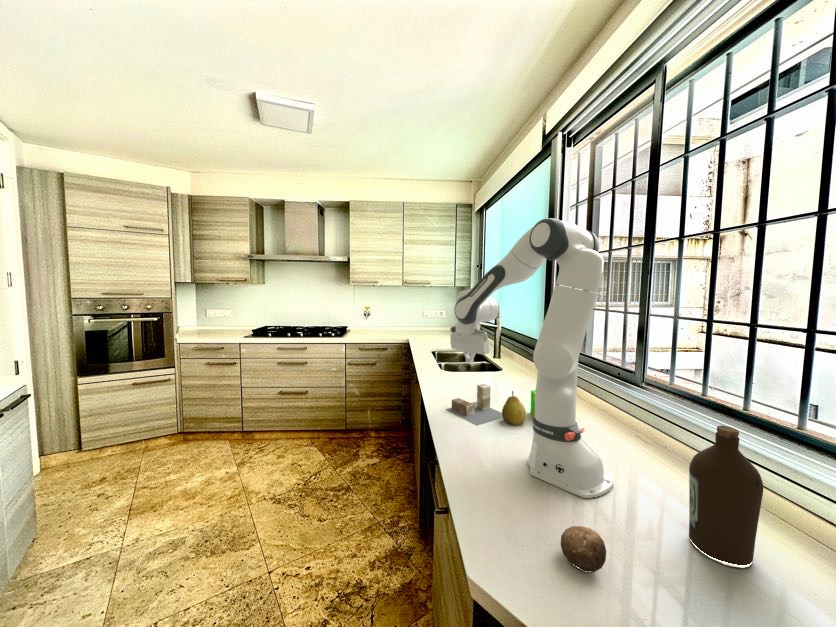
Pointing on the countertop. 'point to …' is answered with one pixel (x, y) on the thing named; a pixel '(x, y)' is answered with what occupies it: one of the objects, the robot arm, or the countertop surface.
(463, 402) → the walnut block
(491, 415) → the mat
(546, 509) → the countertop surface
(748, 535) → the olive oil
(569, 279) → the robot arm
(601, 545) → the brown potato
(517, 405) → the fruit
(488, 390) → the ash block
